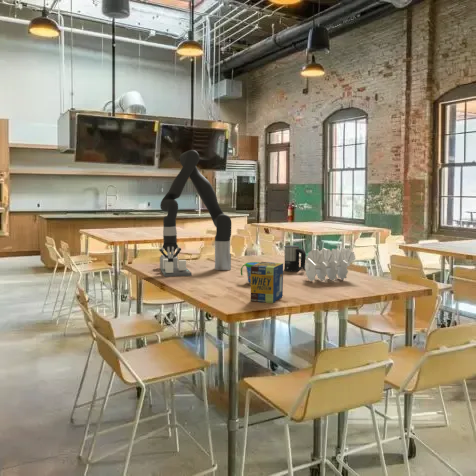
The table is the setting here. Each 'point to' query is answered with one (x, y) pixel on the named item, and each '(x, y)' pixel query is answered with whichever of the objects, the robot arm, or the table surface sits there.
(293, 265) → the milk frother
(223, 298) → the table surface
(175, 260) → the paw print plaque
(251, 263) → the snack cup
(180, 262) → the tab middle
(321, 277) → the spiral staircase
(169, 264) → the tab
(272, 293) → the protein box
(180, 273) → the switch bank
